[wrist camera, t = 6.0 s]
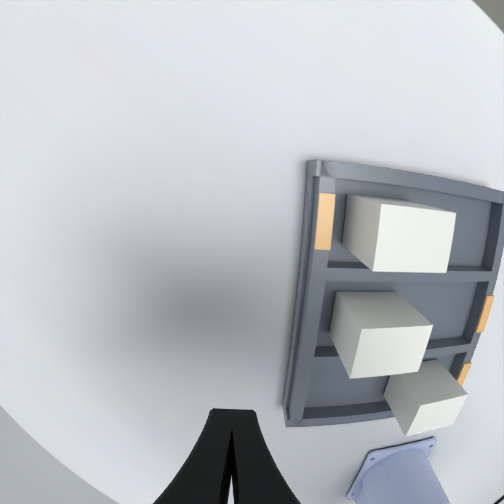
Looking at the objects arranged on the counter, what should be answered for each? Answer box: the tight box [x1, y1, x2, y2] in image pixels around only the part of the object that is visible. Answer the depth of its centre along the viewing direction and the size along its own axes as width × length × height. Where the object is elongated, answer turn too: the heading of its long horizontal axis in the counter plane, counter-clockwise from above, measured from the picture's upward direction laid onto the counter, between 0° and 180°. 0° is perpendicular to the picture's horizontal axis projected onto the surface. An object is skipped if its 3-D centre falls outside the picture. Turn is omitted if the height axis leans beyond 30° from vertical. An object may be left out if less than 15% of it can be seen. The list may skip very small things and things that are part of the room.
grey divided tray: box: [283, 160, 504, 427], centre depth 18 cm, size 17×14×3 cm
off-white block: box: [329, 291, 433, 379], centre depth 16 cm, size 3×4×4 cm
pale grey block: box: [384, 359, 468, 436], centre depth 17 cm, size 3×4×4 cm
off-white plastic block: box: [342, 194, 456, 273], centre depth 14 cm, size 3×4×4 cm
